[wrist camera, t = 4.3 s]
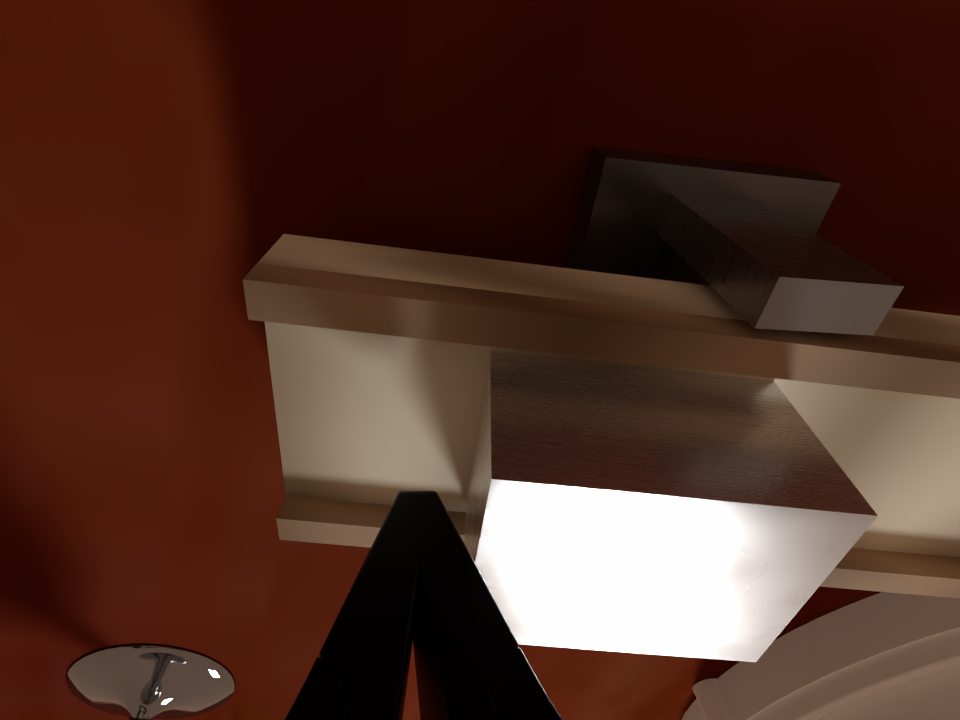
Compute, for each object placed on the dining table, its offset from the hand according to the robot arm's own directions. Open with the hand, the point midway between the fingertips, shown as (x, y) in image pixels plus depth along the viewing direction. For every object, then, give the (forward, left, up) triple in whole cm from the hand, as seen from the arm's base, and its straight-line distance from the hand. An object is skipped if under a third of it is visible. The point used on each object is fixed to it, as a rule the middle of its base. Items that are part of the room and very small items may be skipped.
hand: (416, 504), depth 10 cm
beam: (+9, 0, -4) cm, 10 cm away
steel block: (+4, 0, -2) cm, 5 cm away
